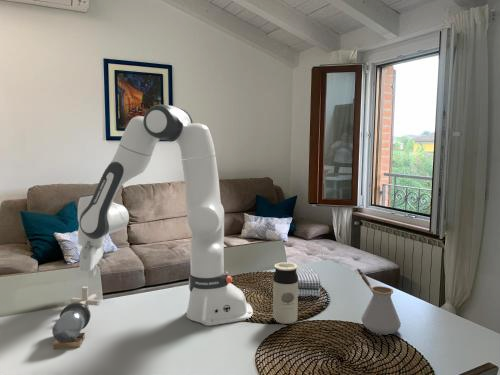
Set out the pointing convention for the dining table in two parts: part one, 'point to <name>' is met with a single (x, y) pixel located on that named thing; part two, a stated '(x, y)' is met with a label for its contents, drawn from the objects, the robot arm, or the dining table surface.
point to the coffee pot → (380, 310)
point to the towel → (308, 282)
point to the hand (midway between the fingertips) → (92, 276)
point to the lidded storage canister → (71, 326)
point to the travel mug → (285, 293)
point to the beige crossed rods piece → (86, 298)
